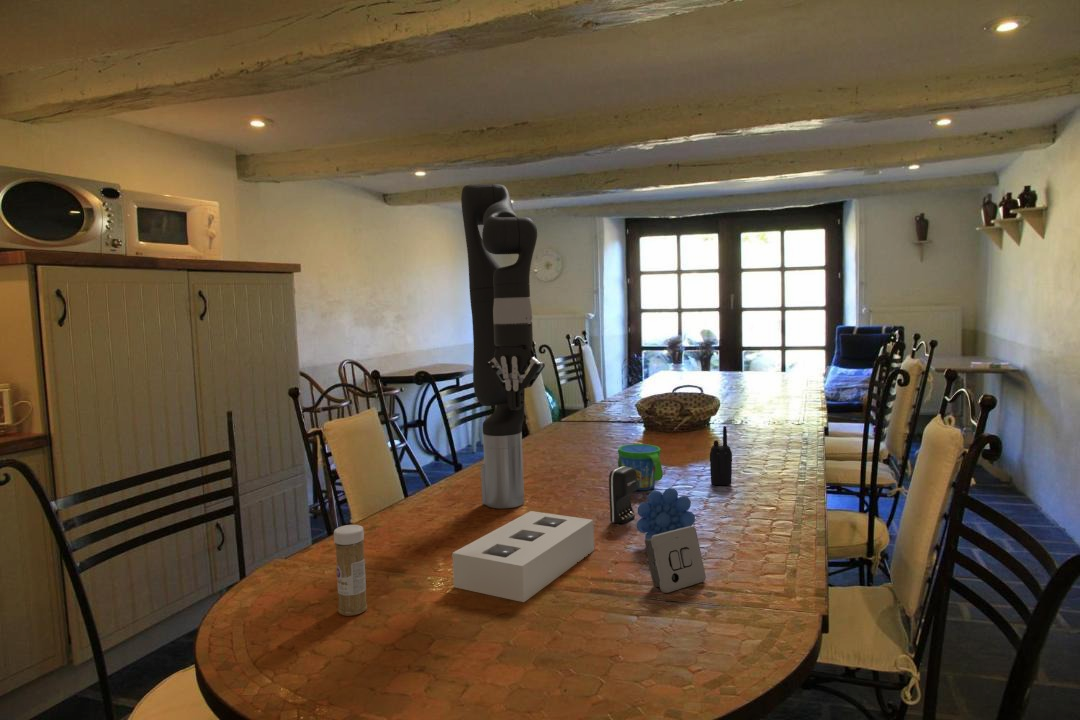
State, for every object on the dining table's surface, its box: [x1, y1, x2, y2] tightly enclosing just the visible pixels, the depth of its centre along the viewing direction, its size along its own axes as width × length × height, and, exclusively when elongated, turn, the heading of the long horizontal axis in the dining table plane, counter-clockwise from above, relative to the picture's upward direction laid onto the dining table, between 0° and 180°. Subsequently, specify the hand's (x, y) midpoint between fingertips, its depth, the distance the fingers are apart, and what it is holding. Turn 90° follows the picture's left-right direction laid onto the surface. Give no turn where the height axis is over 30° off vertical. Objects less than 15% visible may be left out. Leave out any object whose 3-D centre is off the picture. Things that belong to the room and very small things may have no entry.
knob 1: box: [488, 546, 514, 558], centre depth 121 cm, size 4×4×5 cm
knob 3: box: [539, 519, 562, 527], centre depth 136 cm, size 4×4×5 cm
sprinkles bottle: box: [333, 524, 368, 617], centre depth 112 cm, size 5×5×14 cm
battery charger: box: [608, 466, 638, 524], centre depth 154 cm, size 7×4×11 cm, turn 144°
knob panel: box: [451, 510, 595, 603], centre depth 128 cm, size 14×26×6 cm, turn 150°
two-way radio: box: [709, 425, 733, 486], centre depth 179 cm, size 6×4×15 cm
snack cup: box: [617, 443, 664, 491], centre depth 180 cm, size 16×10×10 cm
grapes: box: [636, 487, 696, 541], centre depth 136 cm, size 12×7×12 cm, turn 61°
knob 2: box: [515, 532, 539, 542], centre depth 128 cm, size 4×4×5 cm
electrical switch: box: [644, 525, 707, 594], centre depth 119 cm, size 9×5×9 cm, turn 121°
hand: (516, 409), depth 139 cm, fingers closed
